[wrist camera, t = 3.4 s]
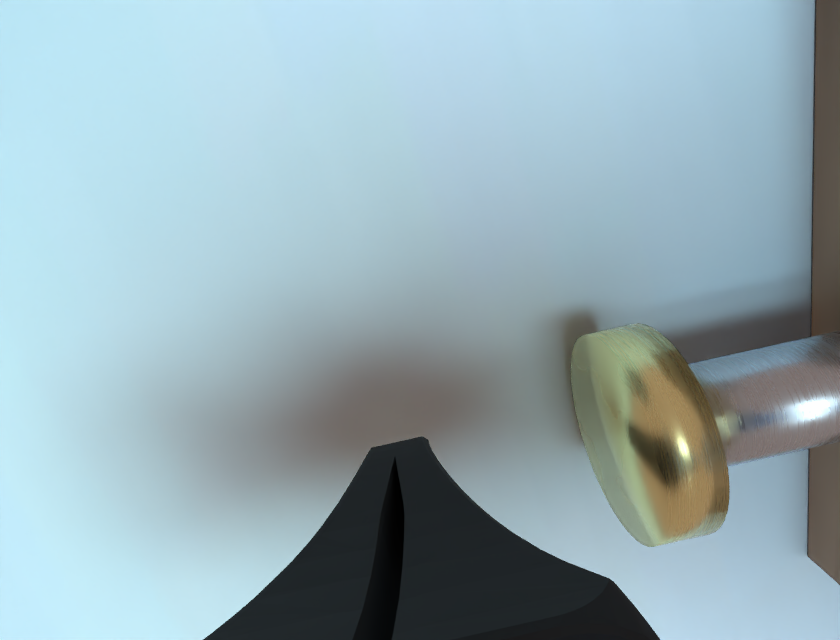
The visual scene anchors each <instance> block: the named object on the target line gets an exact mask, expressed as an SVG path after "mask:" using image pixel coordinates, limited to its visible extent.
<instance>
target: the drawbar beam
mask: <svg viewBox="0 0 840 640" xmlns="http://www.w3.org/2000/svg"><path fill="white" fill-rule="evenodd" d="M839 330H840V0H816V55H815V122H814V190H813V258H812V325H811V337H812V336H817V335H821V334H826V333H830V332H835V331H839ZM808 557H809V558H810V559H811V560H812V561H814V562H815V563H816V564H817V565H818V566H819V567H820V568H821V569H823V570H824V571H825V572H826V573H827V574H828V575H829V576H830V577H832V578H833V579H834V580H835V581H836V582H837V583H838V584H839V585H840V442H836V443H832V444H827V445H823V446H818V447H814V448H810V461H809V528H808Z"/></svg>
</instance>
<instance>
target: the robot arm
mask: <svg viewBox="0 0 840 640" xmlns="http://www.w3.org/2000/svg"><path fill="white" fill-rule="evenodd" d="M204 640H660V639H659V637H658V636H657V635H656V633H655V632H654V631H653V629H652V628H651V626H650V625H649V624H648V623H647V621H646V620H645V619H644V617H643V616H642V615H641V614H640V612H639V611H638V610H637V609H636V607H635V606H634V605H633V604H632V602H631V601H630V600H629V599H628V598H627V597H626V595H625V594H624V593H623V592H622V591H621V590H620V588H619V587H618V586H617V585H616V584H615V583H614V582H613V581H612V580H611V579H609V578H606V577H604V576H601V575H599V574H596V573H593V572H591V571H588V570H586V569H583V568H580V567H578V566H575V565H573V564H570V563H568V562H565V561H563V560H561V559H559V558H557V557H555V556H553V555H551V554H549V553H547V552H545V551H543V550H540V549H539V548H537V547H536V546H534V545H532V544H531V543H529V542H527V541H526V540H524V539H522V538H521V537H519V536H517V535H516V534H514V533H513V532H511V531H510V530H508V529H507V528H506V527H504V526H503V525H502V524H500V523H499V522H497V521H496V520H495V519H494V518H492V517H491V516H490V515H489V514H487V513H486V512H485V511H484V510H483V509H482V508H480V507H479V506H478V505H477V504H476V503H475V502H474V501H473V500H472V499H471V498H470V497H469V496H468V495H467V494H466V493H465V492H464V491H463V490H462V489H461V488H460V487H459V486H458V485H457V484H456V483H455V481H454V480H453V479H452V478H451V477H450V475H449V474H448V473H447V472H446V470H445V469H444V468H443V467H442V465H441V464H440V462H439V461H438V459H437V458H436V456H435V455H434V453H433V451H432V449H431V447H430V445H429V441H428V440H427V439H426V438H424V437H423V436H422V437H418V438H413V439H409V440H405V441H400V442H396V443H391V444H387V445H382V446H378V447H373V448H371V450H370V451H369V453H368V454H367V456H366V458H365V459H364V461H363V463H362V465H361V466H360V468H359V470H358V472H357V473H356V475H355V477H354V478H353V480H352V482H351V483H350V485H349V487H348V488H347V490H346V491H345V493H344V495H343V496H342V498H341V499H340V501H339V503H338V504H337V506H336V507H335V508H334V510H333V511H332V513H331V514H330V515H329V517H328V518H327V520H326V521H325V522H324V524H323V525H322V527H321V528H320V529H319V531H318V532H317V533H316V534H315V536H314V537H313V538H312V539H311V540H310V542H309V543H308V544H307V545H306V546H305V547H304V548H303V550H302V551H301V552H300V553H299V554H298V555H297V556H296V557H295V559H294V560H293V561H292V562H291V563H290V564H289V565H288V566H287V567H286V568H285V569H284V570H283V571H282V572H281V573H280V574H279V575H278V576H277V577H276V578H275V579H274V580H273V581H271V582H270V583H269V584H268V585H267V586H266V587H265V588H264V589H263V590H262V591H261V592H260V593H259V594H258V595H257V596H256V597H255V598H254V599H253V600H251V601H250V602H249V603H248V604H247V605H246V606H244V607H243V608H242V609H241V610H240V611H239V612H237V613H236V614H235V615H234V616H233V617H232V618H230V619H229V620H228V621H226V622H225V623H224V624H223V625H221V626H220V627H219V628H218V629H216V630H215V631H214V632H213V633H211V634H210V635H209V636H207V637H206V638H205V639H204Z"/></svg>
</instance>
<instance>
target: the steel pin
mask: <svg viewBox="0 0 840 640" xmlns="http://www.w3.org/2000/svg"><path fill="white" fill-rule="evenodd" d="M571 384H572V393H573V400H574V405H575V410H576V415H577V420H578V424H579V428H580V431H581V435H582V438H583V442H584V445H585V448H586V451H587V454H588V457H589V460H590V462H591V465H592V467H593V470H594V472H595V475H596V477H597V480H598V482H599V484H600V486H601V488H602V491H603V493H604V495H605V497H606V498H607V500H608V502H609V504H610V506H611V508H612V509H613V511H614V513H615V514H616V516H617V517H618V519H619V521H620V522H621V523H622V525H623V526H624V527H625V529H626V530H627V531H628V532H629V533H630V534H631V536H633V537H634V538H635V539H636V540H637V541H638V542H640V543H641V544H643V545H645V546H648V547H655V546H659V545H664V544H668V543H673V542H677V541H682V540H686V539H690V538H695V537H699V536H704V535H708V534H711V533H714V532H716V531H717V530H718V529H719V528H720V527H721V525H722V524H723V522H724V520H725V517H726V514H727V511H728V504H729V475H728V467H729V466H733V465H738V464H742V463H747V462H751V461H756V460H760V459H765V458H769V457H774V456H778V455H782V454H787V453H791V452H796V451H800V450H805V449H809V448H814V447H818V446H823V445H827V444H832V443H836V442H840V330H839V331H835V332H830V333H826V334H821V335H817V336H812V337H808V338H803V339H799V340H794V341H790V342H785V343H781V344H776V345H772V346H767V347H763V348H758V349H754V350H749V351H745V352H740V353H736V354H731V355H727V356H722V357H718V358H713V359H709V360H704V361H700V362H695V363H691V364H687V362H686V361H685V359H684V358H683V357H682V356H681V354H680V353H679V352H678V350H677V349H676V348H675V347H674V346H673V345H672V344H671V343H670V341H669V340H668V339H666V338H665V337H664V336H663V335H662V334H661V333H659V332H658V331H656V330H655V329H653V328H652V327H649V326H647V325H644V324H639V323H638V324H631V325H626V326H621V327H617V328H612V329H608V330H603V331H599V332H594V333H590V334H585V335H582V336H580V337H579V338H578V339H577V341H576V343H575V344H574V347H573V351H572V357H571Z"/></svg>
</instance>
